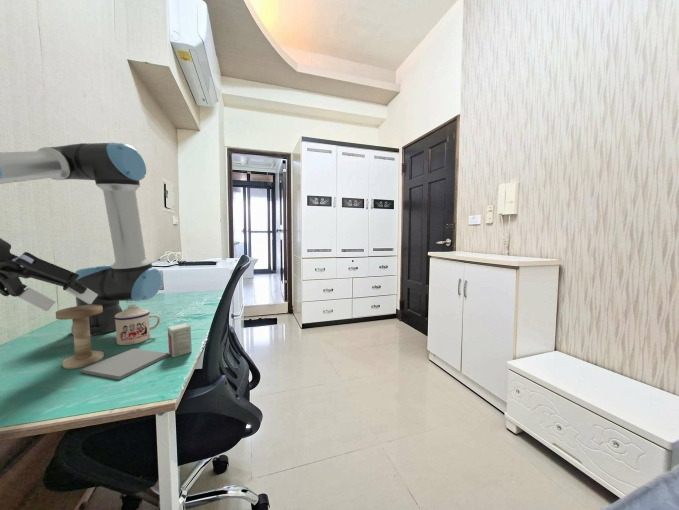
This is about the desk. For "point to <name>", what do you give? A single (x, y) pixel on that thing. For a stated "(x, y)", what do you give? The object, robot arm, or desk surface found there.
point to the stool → (81, 335)
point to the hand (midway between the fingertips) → (72, 303)
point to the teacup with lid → (133, 325)
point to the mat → (124, 363)
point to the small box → (179, 339)
